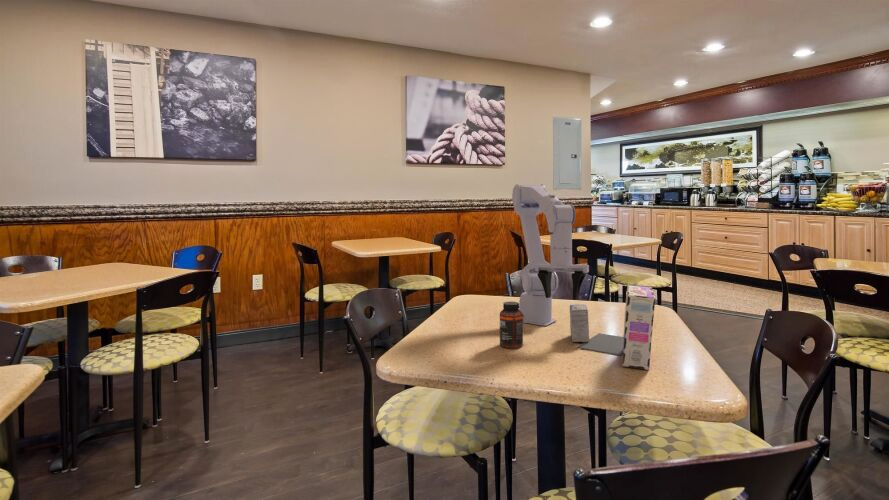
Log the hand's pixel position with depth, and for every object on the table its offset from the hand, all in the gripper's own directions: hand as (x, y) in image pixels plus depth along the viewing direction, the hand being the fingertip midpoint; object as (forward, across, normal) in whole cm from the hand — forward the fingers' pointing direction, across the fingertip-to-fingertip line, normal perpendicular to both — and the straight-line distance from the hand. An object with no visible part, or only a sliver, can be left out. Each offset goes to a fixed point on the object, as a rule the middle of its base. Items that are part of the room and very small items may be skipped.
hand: (561, 298), depth 135 cm
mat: (+11, +13, 0) cm, 17 cm away
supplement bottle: (+11, -8, -15) cm, 21 cm away
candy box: (+12, +21, -10) cm, 26 cm away
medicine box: (+11, +5, 0) cm, 12 cm away
